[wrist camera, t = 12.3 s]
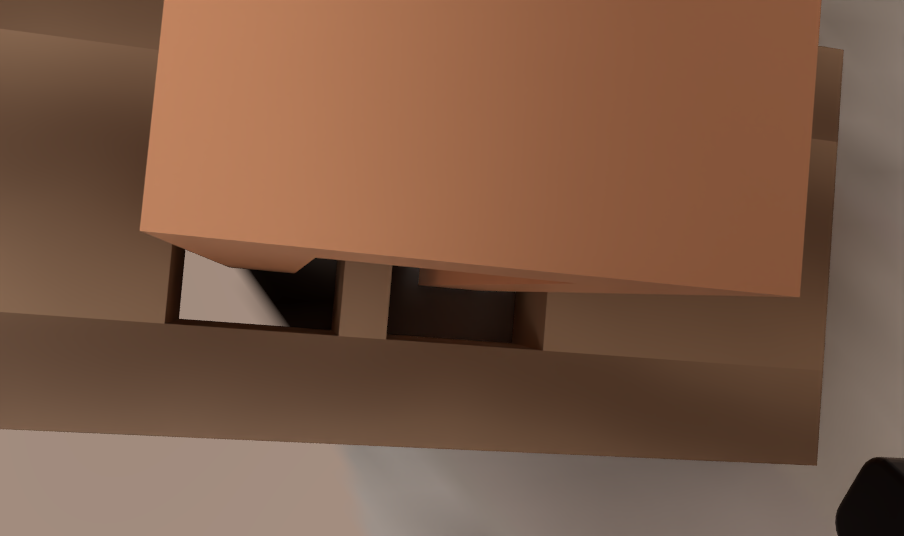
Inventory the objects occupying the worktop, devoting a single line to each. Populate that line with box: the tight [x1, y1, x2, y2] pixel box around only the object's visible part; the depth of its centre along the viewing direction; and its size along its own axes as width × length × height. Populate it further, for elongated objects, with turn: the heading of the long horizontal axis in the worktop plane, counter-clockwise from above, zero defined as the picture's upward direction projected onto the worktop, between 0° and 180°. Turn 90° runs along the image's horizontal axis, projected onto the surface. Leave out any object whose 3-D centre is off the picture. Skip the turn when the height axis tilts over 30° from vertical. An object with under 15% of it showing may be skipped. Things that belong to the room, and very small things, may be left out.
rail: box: [0, 0, 844, 466], centre depth 19 cm, size 10×22×2 cm, turn 84°
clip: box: [140, 0, 821, 297], centre depth 14 cm, size 3×6×13 cm, turn 84°
